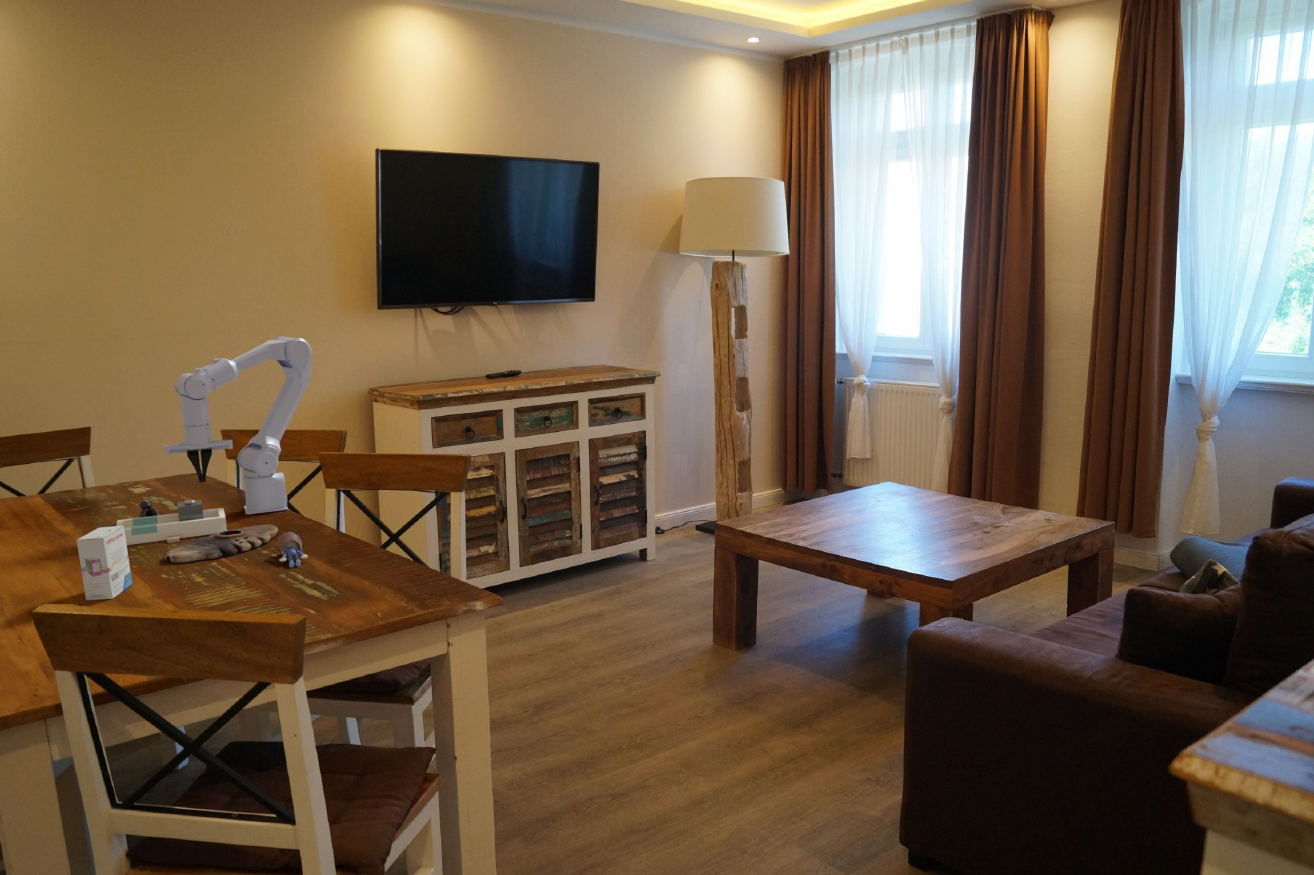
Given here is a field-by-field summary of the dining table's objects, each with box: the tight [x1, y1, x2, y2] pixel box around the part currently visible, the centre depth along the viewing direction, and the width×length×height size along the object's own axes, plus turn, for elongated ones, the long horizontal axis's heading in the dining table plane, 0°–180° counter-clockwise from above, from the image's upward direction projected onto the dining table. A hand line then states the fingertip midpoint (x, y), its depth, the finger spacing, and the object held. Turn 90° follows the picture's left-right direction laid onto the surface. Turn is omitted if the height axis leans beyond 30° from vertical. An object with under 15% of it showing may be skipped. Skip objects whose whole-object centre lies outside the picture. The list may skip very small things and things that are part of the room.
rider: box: [177, 499, 204, 522], centre depth 221 cm, size 5×5×5 cm
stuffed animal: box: [109, 499, 161, 527], centre depth 229 cm, size 12×10×12 cm
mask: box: [164, 524, 279, 564], centre depth 208 cm, size 15×3×25 cm
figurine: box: [276, 531, 309, 568], centre depth 199 cm, size 6×5×12 cm
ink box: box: [76, 526, 133, 601], centre depth 180 cm, size 9×5×12 cm, turn 5°
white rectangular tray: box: [116, 507, 228, 546], centre depth 218 cm, size 22×13×4 cm, turn 117°
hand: (202, 481), depth 229 cm, fingers closed
